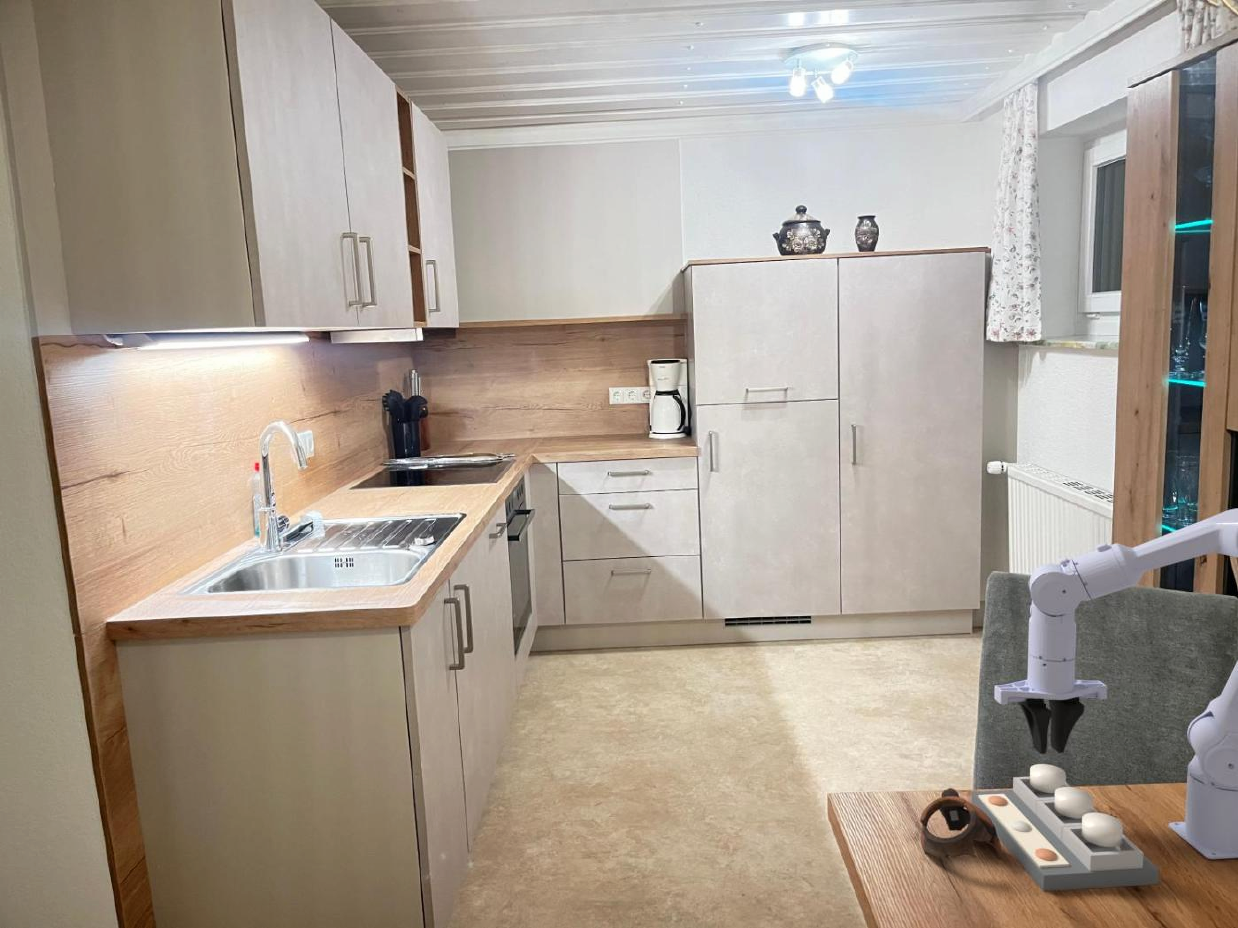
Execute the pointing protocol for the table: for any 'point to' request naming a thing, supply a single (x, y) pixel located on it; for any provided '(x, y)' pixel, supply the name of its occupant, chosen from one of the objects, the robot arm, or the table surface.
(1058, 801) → the button middle
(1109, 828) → the button
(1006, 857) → the table surface
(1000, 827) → the button board
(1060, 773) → the button
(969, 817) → the brown broken pot
